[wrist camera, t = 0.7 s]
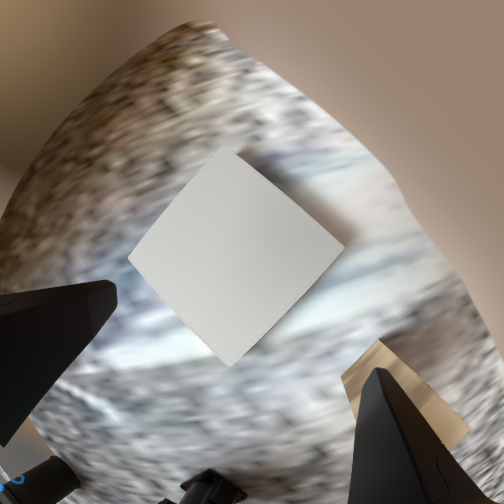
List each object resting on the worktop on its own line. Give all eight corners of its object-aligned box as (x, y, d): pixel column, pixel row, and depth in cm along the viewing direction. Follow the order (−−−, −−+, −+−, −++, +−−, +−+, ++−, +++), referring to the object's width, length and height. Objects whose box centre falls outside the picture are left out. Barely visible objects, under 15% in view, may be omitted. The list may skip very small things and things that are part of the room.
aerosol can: (84, 480, 28) (18, 528, 9) (76, 492, 29) (19, 533, 9) (53, 449, 30) (-18, 486, 10) (48, 463, 30) (-13, 497, 11)
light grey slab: (237, 358, 25) (229, 367, 22) (143, 259, 28) (127, 258, 25) (340, 250, 24) (345, 247, 22) (231, 157, 27) (223, 144, 24)
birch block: (372, 403, 23) (410, 483, 10) (340, 376, 24) (366, 455, 11) (407, 368, 22) (471, 428, 10) (377, 338, 23) (436, 392, 10)
